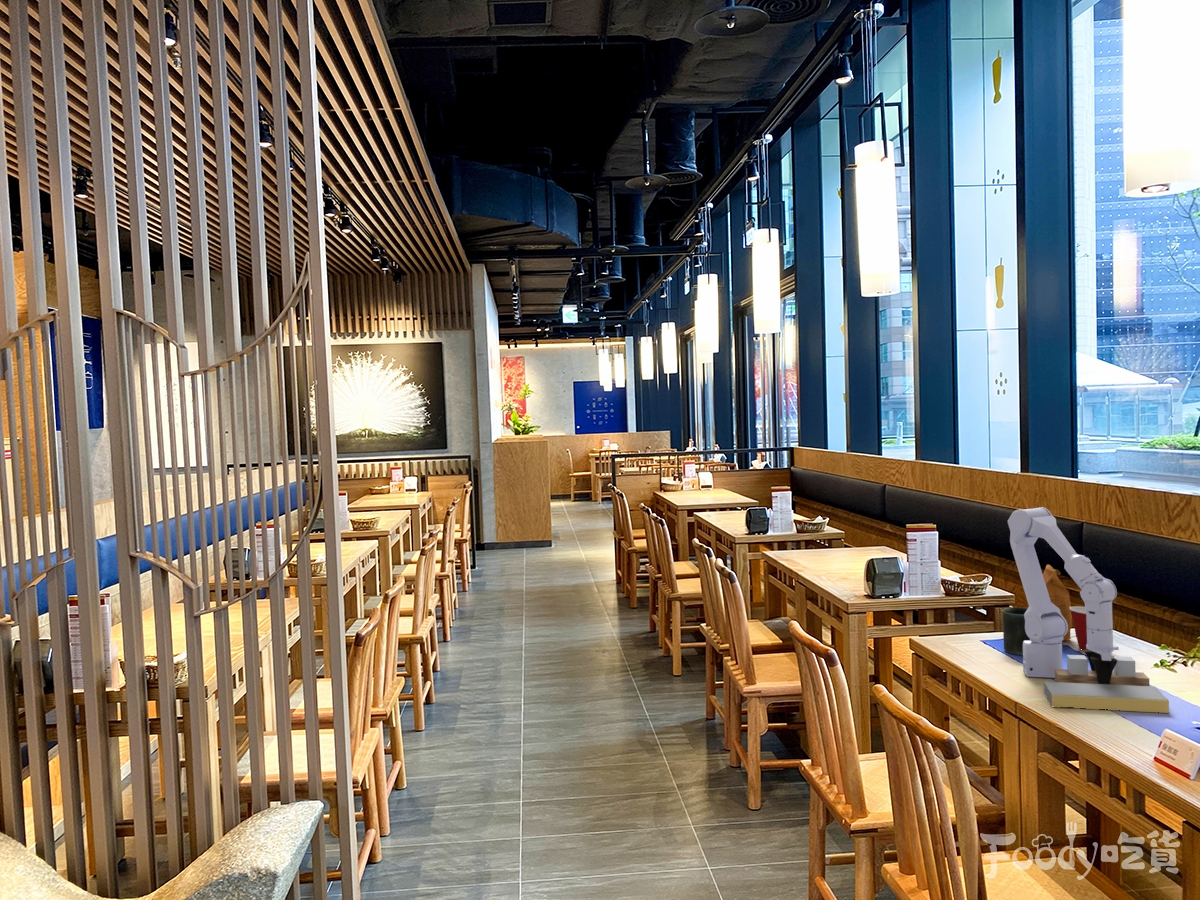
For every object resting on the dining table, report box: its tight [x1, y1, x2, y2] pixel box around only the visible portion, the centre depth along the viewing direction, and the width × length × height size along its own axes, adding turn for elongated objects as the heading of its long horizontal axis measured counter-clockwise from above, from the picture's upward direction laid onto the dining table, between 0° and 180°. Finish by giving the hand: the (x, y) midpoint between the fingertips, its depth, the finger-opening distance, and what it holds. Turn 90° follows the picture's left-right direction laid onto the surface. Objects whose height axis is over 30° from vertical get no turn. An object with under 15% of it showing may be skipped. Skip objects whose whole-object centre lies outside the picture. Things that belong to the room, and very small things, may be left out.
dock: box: [1043, 681, 1170, 714], centre depth 214 cm, size 24×11×3 cm, turn 72°
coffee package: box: [1041, 564, 1073, 641], centre depth 279 cm, size 10×12×22 cm
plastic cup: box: [1069, 606, 1088, 651], centre depth 263 cm, size 11×11×12 cm
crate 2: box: [1112, 656, 1137, 677], centre depth 224 cm, size 4×4×4 cm
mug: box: [1000, 606, 1030, 656], centre depth 265 cm, size 11×15×12 cm
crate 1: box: [1066, 654, 1089, 675], centre depth 228 cm, size 4×4×4 cm
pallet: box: [1054, 668, 1151, 686], centre depth 226 cm, size 20×6×4 cm, turn 72°
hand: (1101, 682), depth 226 cm, fingers open, 6 cm apart
